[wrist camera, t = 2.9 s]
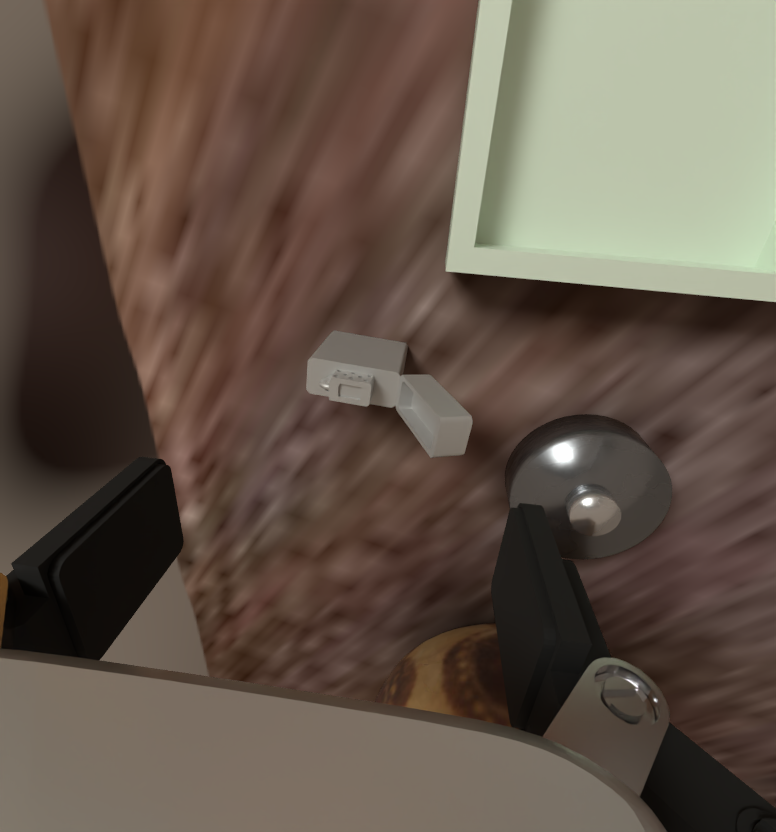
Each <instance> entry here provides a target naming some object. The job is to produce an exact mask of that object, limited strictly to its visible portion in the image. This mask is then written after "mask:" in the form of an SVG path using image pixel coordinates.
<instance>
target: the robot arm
mask: <svg viewBox="0 0 776 832" xmlns="http://www.w3.org/2000/svg"><path fill="white" fill-rule="evenodd" d="M182 546H183V534H182V529H181V523H180V517H179V512H178V506H177V501H176V495H175V489H174V484H173V478H172V473H171V468H170V467H169V466H168V465H166V463H165V462H164V460H162V459H156V458H148V457H139V458H137V459H136V460H135V461H133V462H132V463H131V464H130V465H129V466H127V467H126V468H125V469H124V470H123V471H122V472H120V473H119V474H118V475H117V476H115V477H114V478H113V479H112V480H111V481H109V482H108V483H107V484H106V485H105V486H103V488H101V489H100V490H99V491H98V492H96V493H95V494H94V495H93V496H92V497H90V498H89V499H88V500H87V501H86V502H84V503H83V504H82V505H81V506H80V507H78V508H77V509H76V510H75V511H74V512H72V513H71V514H70V515H69V516H68V517H66V518H65V519H64V520H63V521H62V522H60V523H59V524H58V525H57V526H56V527H54V528H53V529H52V530H51V531H50V532H48V533H47V534H46V535H45V536H44V537H42V538H41V539H40V540H39V541H38V542H36V543H35V544H34V545H33V546H32V547H30V548H29V549H28V550H27V551H26V552H25V553H23V554H22V555H21V556H20V557H19V558H17V559H16V560H15V561H14V562H13V563H12V566H13V569H14V570H13V571H11V572H10V573H9V574H8V575H7V576H5V575H4V574H3V573H1V572H0V832H776V808H774V807H773V806H772V805H771V804H770V803H768V802H767V801H766V800H765V799H763V798H762V797H761V796H760V795H758V794H757V793H756V792H755V791H753V790H752V789H751V788H750V787H749V786H747V785H746V784H745V783H744V782H742V781H741V780H740V779H739V778H737V777H736V776H735V775H734V774H732V773H731V772H730V771H729V770H728V769H726V768H725V767H724V766H723V765H721V764H720V763H719V762H718V761H716V760H715V759H714V758H713V757H711V756H710V755H709V754H708V753H707V752H705V751H704V750H703V749H702V748H700V747H699V746H698V745H697V744H695V743H694V742H693V741H692V740H690V739H689V738H688V737H687V736H686V735H684V734H683V733H682V732H681V731H679V730H678V729H677V728H676V727H674V726H673V725H672V724H671V723H669V719H670V712H669V708H668V704H667V701H666V700H665V698H664V696H663V694H662V692H661V690H660V689H659V688H658V687H657V686H656V684H655V683H654V682H653V681H652V680H651V678H649V677H648V676H647V675H646V674H644V673H643V672H642V671H641V670H640V669H638V668H636V667H635V666H633V665H631V664H629V663H628V662H625V661H622V660H619V659H616V658H611V656H610V653H609V651H608V648H607V646H606V643H605V640H604V638H603V635H602V633H601V630H600V628H599V625H598V622H597V620H596V617H595V615H594V612H593V610H592V607H591V604H590V602H589V599H588V597H587V594H586V592H585V589H584V586H583V584H582V581H581V579H580V576H579V574H578V571H577V568H576V566H575V565H574V563H573V562H572V561H571V560H563V559H561V556H560V553H559V550H558V547H557V545H556V542H555V539H554V536H553V533H552V531H551V528H550V525H549V522H548V519H547V517H546V514H545V511H544V508H543V506H541V505H534V504H526V503H519V505H518V507H517V508H513V507H512V508H511V509H510V511H509V515H508V519H507V523H506V527H505V531H504V535H503V539H502V543H501V547H500V551H499V555H498V559H497V563H496V567H495V571H494V575H493V579H492V585H491V594H492V601H493V608H494V615H495V622H496V629H497V636H498V643H499V650H500V657H501V664H502V671H503V678H504V685H505V692H506V699H507V706H508V713H509V720H510V724H511V726H512V727H508V726H503V725H499V724H495V723H490V722H486V721H481V720H477V719H471V718H465V717H460V716H454V715H448V714H443V713H437V712H431V711H426V710H420V709H414V708H408V707H402V706H396V705H389V704H383V703H377V702H370V701H364V700H358V699H351V698H345V697H339V696H332V695H326V694H320V693H313V692H307V691H300V690H294V689H287V688H281V687H274V686H268V685H261V684H254V683H248V682H241V681H235V680H228V679H221V678H215V677H208V676H201V675H195V674H188V673H182V672H175V671H168V670H160V669H154V668H147V667H140V666H133V665H127V664H120V663H112V662H106V661H99V660H100V659H101V658H102V656H103V655H104V654H105V652H106V651H107V650H108V648H109V647H110V646H111V644H112V643H113V642H114V640H115V639H116V637H117V636H118V635H119V634H120V632H121V631H122V630H123V628H124V627H125V625H126V624H127V623H128V621H129V620H130V619H131V618H132V616H133V615H134V613H135V612H136V611H137V609H138V608H139V607H140V605H141V604H142V603H143V601H144V600H145V599H146V597H147V596H148V595H149V593H150V592H151V591H152V589H153V588H154V587H155V585H156V584H157V583H158V581H159V580H160V579H161V577H162V576H163V575H164V573H165V572H166V571H167V569H168V568H169V566H170V565H171V563H172V562H173V561H174V560H175V558H176V557H177V556H178V554H179V553H180V551H181V549H182ZM516 728H518V729H516Z"/></svg>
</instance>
